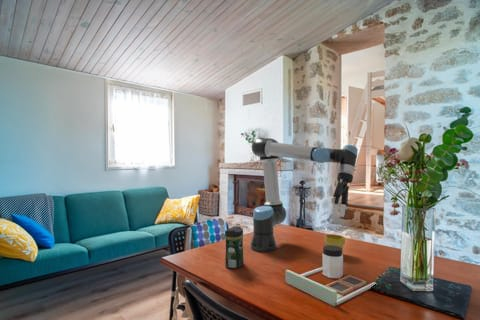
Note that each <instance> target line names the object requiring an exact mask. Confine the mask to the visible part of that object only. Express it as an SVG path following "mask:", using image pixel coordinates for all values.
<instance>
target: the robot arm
mask: <svg viewBox="0 0 480 320" xmlns="http://www.w3.org/2000/svg"><path fill="white" fill-rule="evenodd" d="M251 150H252V152H253V154H254V155H255V156H256V157H259V161H260V162H261V163H262V169H263V180H264V191H265V192H264V193H265V202H264V204H263V205H261V206H257V207H255V208H254V209H253V214H252V219H253V221H252V222H253V224H252V225H253V234H252V238H251V241H250V249H251V250H253V251H256V252H262V253H265V252H268V253H269V252H273V251H276V250H277V247H278V246H277V240H276V238H275V235H274V227H276V226H278V225H281V224H282V223H283V222H284V221H285V220H286V218H287V210H286V208H285V207H284V204H283V202H282V200H281V198H280V187H279V178H278V177H279V176H278V166H277V162H278V161H279V157H280V158H285V159H286V158H287V159H295V160H302V161H310V162H316V163H319V164H320V163H321V164H324V163H333V164H334V163H335V164H339V168H338V173H337V178H336V179H337V182H338V183H337V184H336V188H335V190H334V192H333V195H332V196H333V197H334V199H333V205H332V211H333V212H338V215H337V216H338V217H342V218H344V217H345V213H346V208H347V206H349V203H348V201H349V189H350V187H349V184H352V183H353V181H354V180H353V179H354V173H355V171H356V162H357V158H358V148H357V147H356V146H355V145H351V144H347V145H344V146H343V147H342V148H341V149H340V148H339V149H338V148H328V147H318V146H317V147H315V146H309V145H301V144H300V145H299V144H292V143H282V142H279V141H278V140H276V139H274V138H271V137H270V138H268V137H267V138H266V137H257V138H256V139H254V140H253V142H252V143H251Z"/></svg>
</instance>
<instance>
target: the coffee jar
mask: <svg viewBox="0 0 480 320" xmlns="http://www.w3.org/2000/svg"><path fill="white" fill-rule="evenodd" d="M224 237H225V238H224V239H225V267H227V268H229V269H231V270H232V269H233V270H234V269H239V268H240V267H242V265H243V264H244V263H245V261H244V245H243V244H244V242H243V241H244V230H243V228H242V227H241V226H235V225H234V226H232V227H229V228H228V229H226V230H225V231H224Z"/></svg>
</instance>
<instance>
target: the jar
mask: <svg viewBox="0 0 480 320" xmlns="http://www.w3.org/2000/svg"><path fill="white" fill-rule="evenodd" d="M322 250H323V251H322V252H323V253H321V254H322V255H321V256H322V267H323V270H322V275H323V276H325V277H327V278H329V279H341V278H343V275H344V254H343V250H342V248H341V247H338V246H333V245H324V246H323V249H322Z"/></svg>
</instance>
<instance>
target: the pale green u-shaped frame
mask: <svg viewBox="0 0 480 320" xmlns="http://www.w3.org/2000/svg"><path fill="white" fill-rule="evenodd" d="M321 271H323V266H321V267H318V268H315V269H312V270H309V271H306V272H303V273H301V274H298V273H297V272H295V271H292V270H289V269H285V275H284V277H285V278H284V279H285V283H286V284H288V285H289V286H291V287H294V288H296V289H298V290H300V291H303V292H304V293H307V294H308V295H311V296H312V297H314V298H316V299H318V300H319V301H320V300H321V301H323V302H325V303H327V304H328V305H330V306H333V307H336V306H338V305H340V304H342V303H344V302H345V301H347V300H350V299H352V298H353V297H356V296H358V295H360V294H361V293H363V292H365V291H368V290H369V289H371V287H372V286H373V285H375V284H376V285H377V282H375V281H373V282H371V283H369V284H367V280H364V279H361V278H359V277H355V276H353V275H350V274H349V275H346V276H344V277H343V276H342V277H341V278H338V279H337V280H335V281H332V282H330V283H328V284H325V285H324V284H322V283H319V282H317V281H314V280H312V279H310V278H308V277H307V276H311V275H313V274H316V273H319V272H321ZM372 288H373V287H372Z"/></svg>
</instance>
